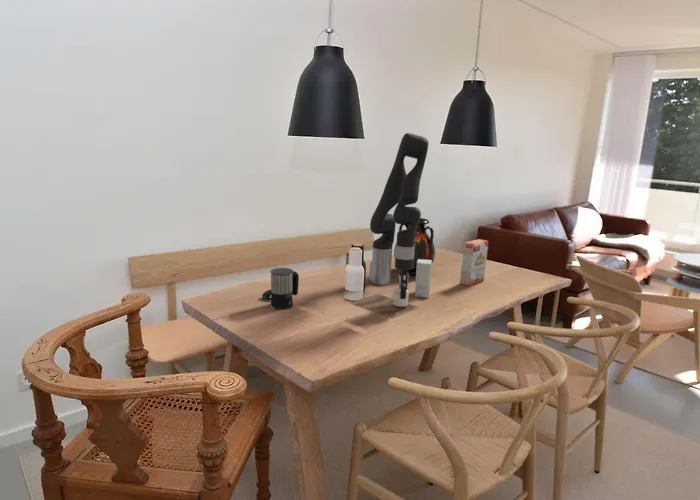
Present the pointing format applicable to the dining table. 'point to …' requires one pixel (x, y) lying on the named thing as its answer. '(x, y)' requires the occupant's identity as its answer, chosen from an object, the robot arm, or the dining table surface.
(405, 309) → the post board
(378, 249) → the robot arm
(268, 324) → the dining table surface
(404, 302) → the cap
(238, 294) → the dining table surface
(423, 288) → the skincare box
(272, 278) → the milk frother
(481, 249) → the cracker box
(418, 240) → the amphora vase
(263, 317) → the dining table surface
